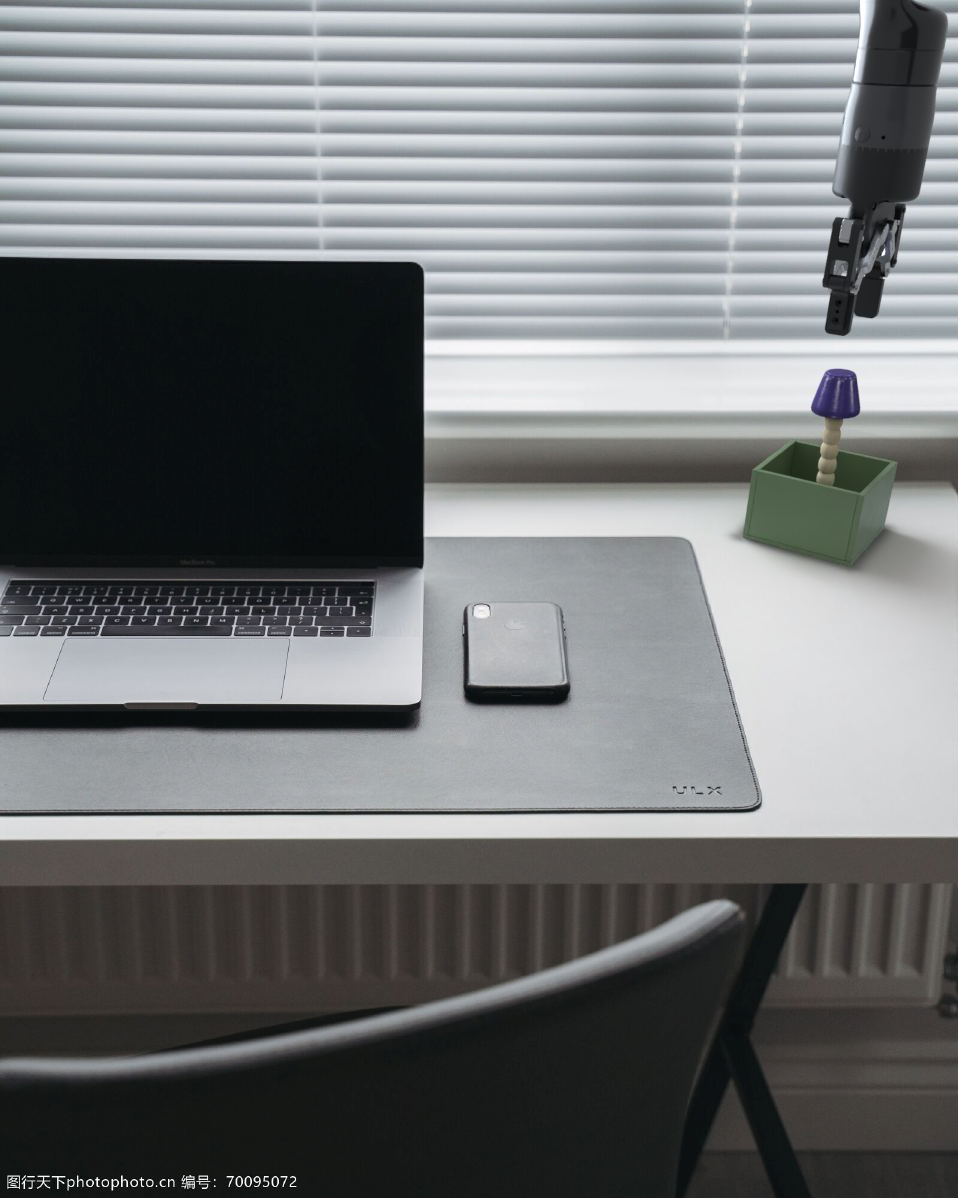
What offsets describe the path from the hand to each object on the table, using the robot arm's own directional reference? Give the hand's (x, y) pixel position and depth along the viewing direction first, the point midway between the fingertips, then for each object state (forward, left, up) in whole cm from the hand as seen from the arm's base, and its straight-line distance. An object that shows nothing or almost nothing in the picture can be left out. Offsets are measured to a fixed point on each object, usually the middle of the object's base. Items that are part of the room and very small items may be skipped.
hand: (851, 325), depth 104 cm
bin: (0, 0, -22) cm, 22 cm away
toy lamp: (0, 0, -21) cm, 21 cm away
